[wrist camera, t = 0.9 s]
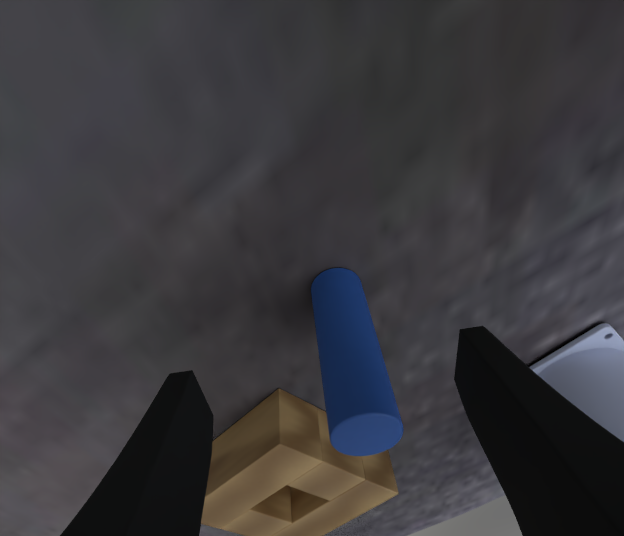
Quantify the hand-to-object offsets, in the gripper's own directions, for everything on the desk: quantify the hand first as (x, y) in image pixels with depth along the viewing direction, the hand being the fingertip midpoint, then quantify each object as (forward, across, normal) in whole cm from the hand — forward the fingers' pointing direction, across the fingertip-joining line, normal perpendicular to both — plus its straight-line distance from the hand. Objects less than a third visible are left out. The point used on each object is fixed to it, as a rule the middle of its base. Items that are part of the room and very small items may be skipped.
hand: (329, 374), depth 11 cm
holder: (+10, +4, +21) cm, 24 cm away
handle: (+10, -1, +5) cm, 12 cm away
